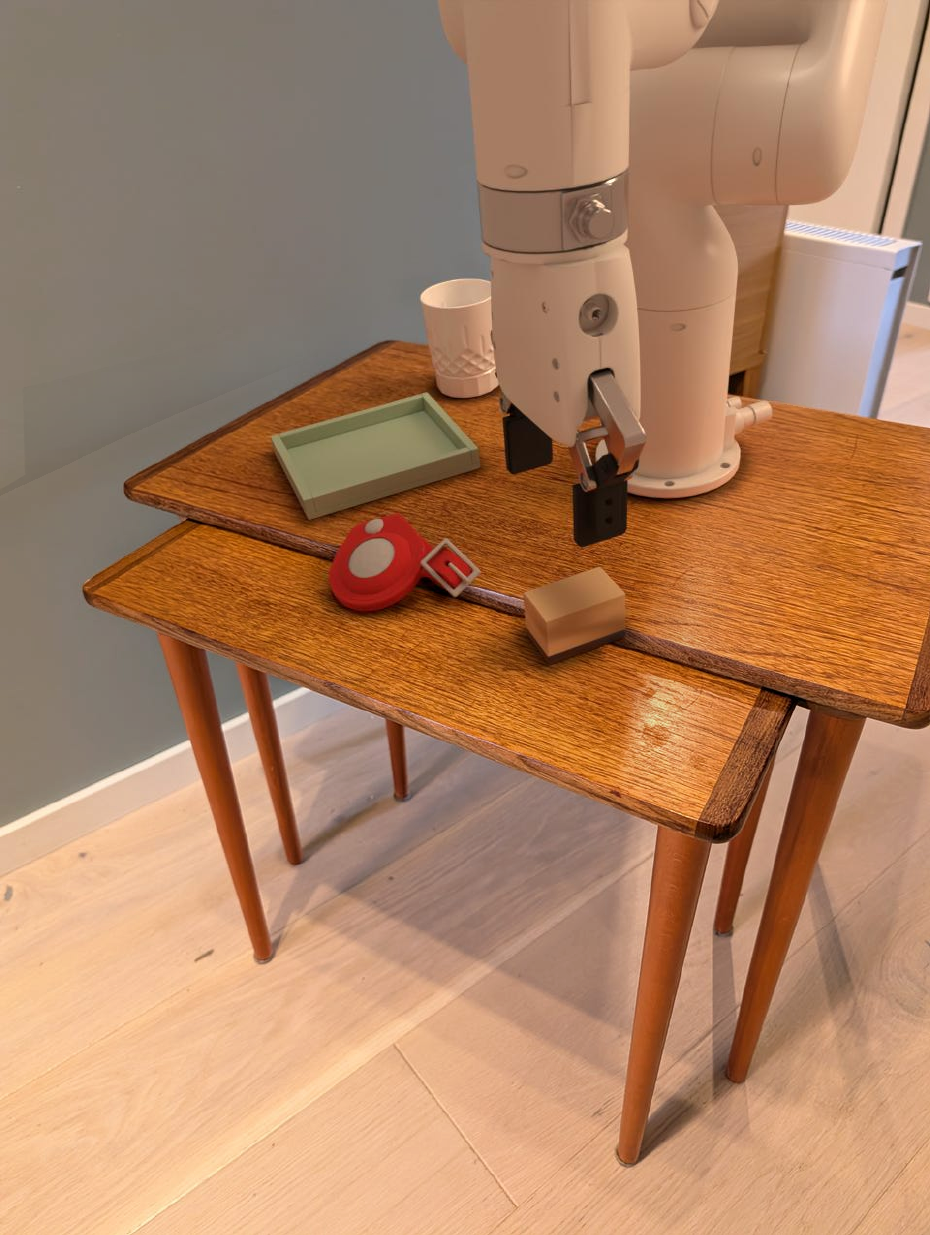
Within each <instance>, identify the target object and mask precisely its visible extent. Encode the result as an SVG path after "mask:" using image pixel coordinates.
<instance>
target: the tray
mask: <svg viewBox="0 0 930 1235" xmlns="http://www.w3.org/2000/svg"><path fill="white" fill-rule="evenodd" d="M270 441H271V444H272V448H273V451H274V454H275V457H276V459H277V461H278V462H279V465H280V466H281V467H280V468H282V471H283V472H284V474H285V477H286V478H287V480H288V482H289V484H290V486H291V488H292V490H293V492H294V494H295V496H296V497H297V500H298V502H299V504H300V506H301V508H302V510H303V512H304V514H305V516H306V518H307V520H308V521H311V520H314V519H317V518H320V517H323V516H327V515H331V514H333V513H337V512H340V511H343V510H346V509H350V508H353V507H357V506H361V505H363V504H366V503H369V502H372V501H377V500H379V499H383V498H386V497H389V496H393V495H396V494H399V493H402V492H405V491H410V490H413V489H416V488H419V487H422V486H425V485H429V484H431V483H435V482H438V481H441V480H445V479H448V478H451V477H454V476H455V477H456V476H458V475H461V474H465V473H468V472H471V471H475V470H478V469H481V460H480V451H479V447H478V446H477V445H476V444H475V443H474V441H473V440H472V439H470V437H469V436H468V435H467V434H466V433H465V432H464V431H463V430H462V429H461V428H460V426H459V425H458V424H457V423H456V422H455V421H454V420H453V419H452V417H450V415H449V414H448V413H447V411H445V410H444V408H443V407H441V405H440V404H439V403H438V402H437V401H436V400H435V399H434V398H433V397H432V396H431V395H430V393H429V392H427V391H426V392H423V393H419V394H415V395H412V396H409V397H404V398H401V399H398V400H394V401H391V402H387V403H383V404H380V405H376V406H373V407H369V408H367V409H363V410H359V411H356V412H355V411H354V412H352V413H348V414H344V415H340V416H337V417H333V418H331V419H327V420H323V421H320V422H316V423H312V424H308V425H305V426H301V427H297V428H295V429H291V430H288V431H283V432H281V433H276V434H272V435H270Z"/></svg>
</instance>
